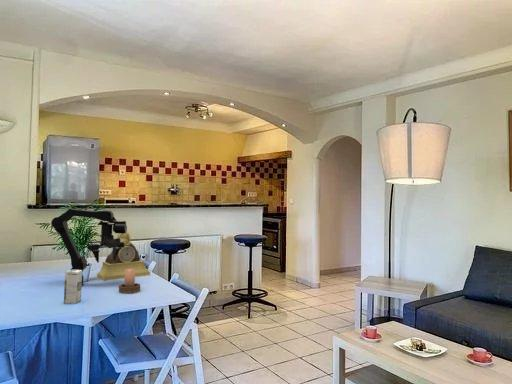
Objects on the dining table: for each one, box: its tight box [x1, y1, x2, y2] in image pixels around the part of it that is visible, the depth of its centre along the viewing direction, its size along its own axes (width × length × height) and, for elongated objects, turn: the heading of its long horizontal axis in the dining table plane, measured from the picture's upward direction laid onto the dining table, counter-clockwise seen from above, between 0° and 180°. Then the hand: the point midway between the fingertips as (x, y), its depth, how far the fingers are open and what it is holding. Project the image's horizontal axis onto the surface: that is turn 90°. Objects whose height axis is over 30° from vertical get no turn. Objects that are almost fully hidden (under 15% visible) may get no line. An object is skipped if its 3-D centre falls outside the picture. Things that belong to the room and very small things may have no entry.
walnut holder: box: [118, 282, 141, 295], centre depth 198 cm, size 10×10×3 cm
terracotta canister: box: [124, 268, 136, 287], centre depth 199 cm, size 5×5×11 cm
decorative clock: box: [96, 231, 151, 282], centre depth 235 cm, size 28×13×30 cm, turn 130°
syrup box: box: [63, 269, 83, 305], centre depth 177 cm, size 6×6×14 cm
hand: (106, 261), depth 210 cm, fingers open, 9 cm apart
